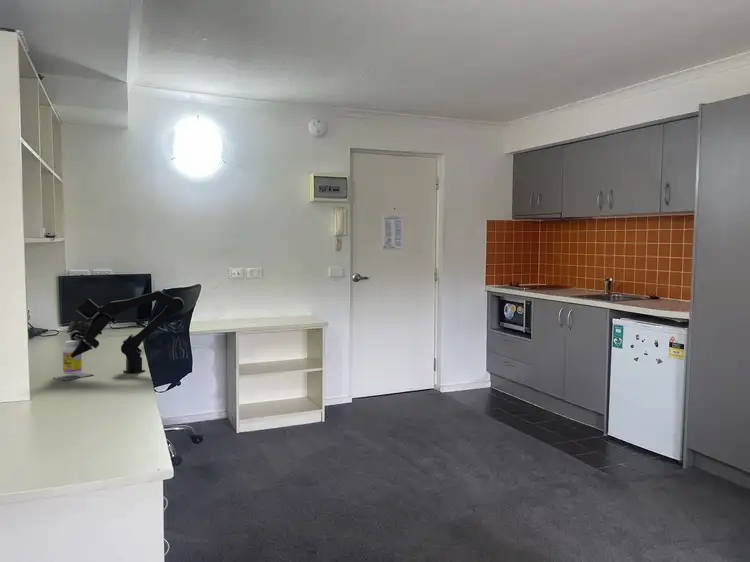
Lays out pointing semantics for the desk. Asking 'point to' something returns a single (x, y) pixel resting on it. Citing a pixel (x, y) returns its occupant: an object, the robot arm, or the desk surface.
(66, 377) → the mat
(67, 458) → the desk surface
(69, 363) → the supplement bottle
